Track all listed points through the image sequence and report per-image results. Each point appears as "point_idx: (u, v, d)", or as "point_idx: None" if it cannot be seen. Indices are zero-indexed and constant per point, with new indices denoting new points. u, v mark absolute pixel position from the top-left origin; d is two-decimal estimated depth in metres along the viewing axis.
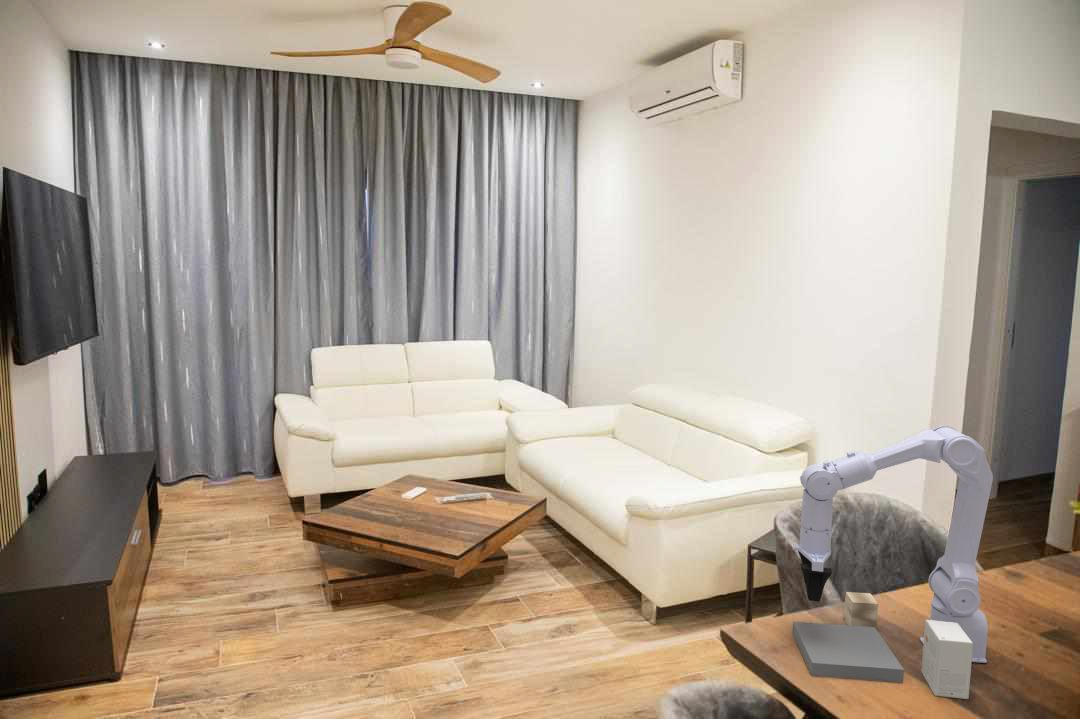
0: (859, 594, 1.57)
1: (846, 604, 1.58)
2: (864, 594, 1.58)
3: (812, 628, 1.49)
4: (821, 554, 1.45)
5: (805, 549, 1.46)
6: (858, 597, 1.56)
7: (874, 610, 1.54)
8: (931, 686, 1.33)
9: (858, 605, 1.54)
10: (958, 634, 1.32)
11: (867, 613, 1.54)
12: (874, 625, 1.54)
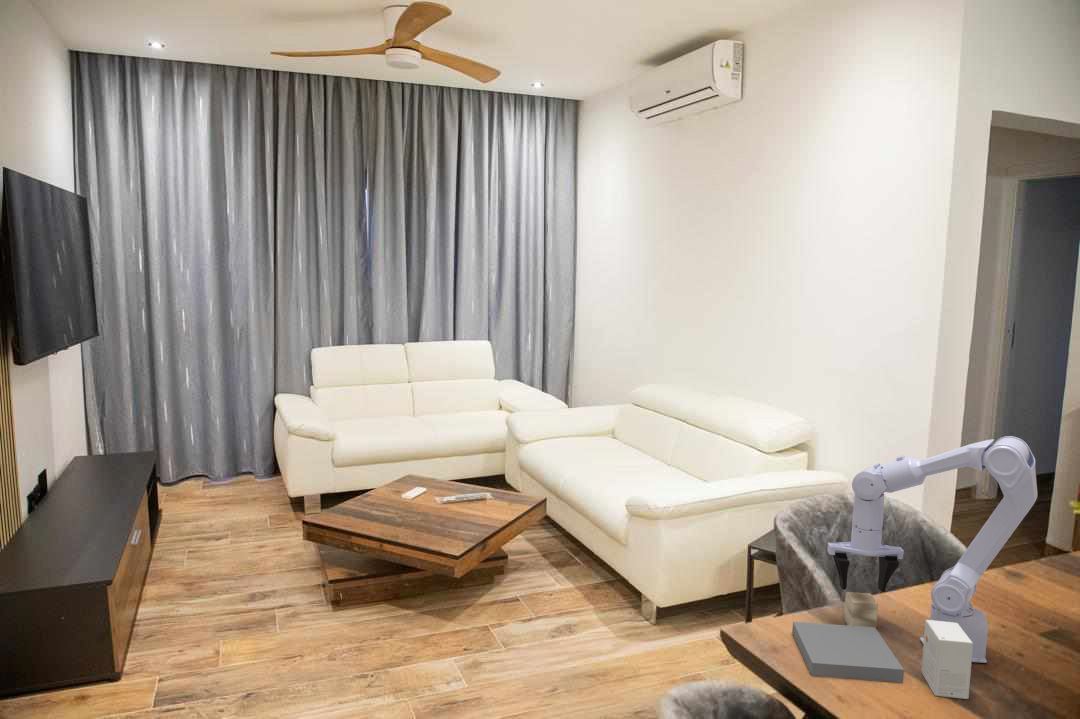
0: (859, 594, 1.57)
1: (846, 604, 1.58)
2: (864, 594, 1.58)
3: (812, 628, 1.49)
4: (852, 548, 1.54)
5: None
6: (858, 597, 1.56)
7: (874, 610, 1.54)
8: (931, 686, 1.33)
9: (859, 604, 1.54)
10: (958, 634, 1.32)
11: (867, 613, 1.54)
12: (874, 625, 1.54)
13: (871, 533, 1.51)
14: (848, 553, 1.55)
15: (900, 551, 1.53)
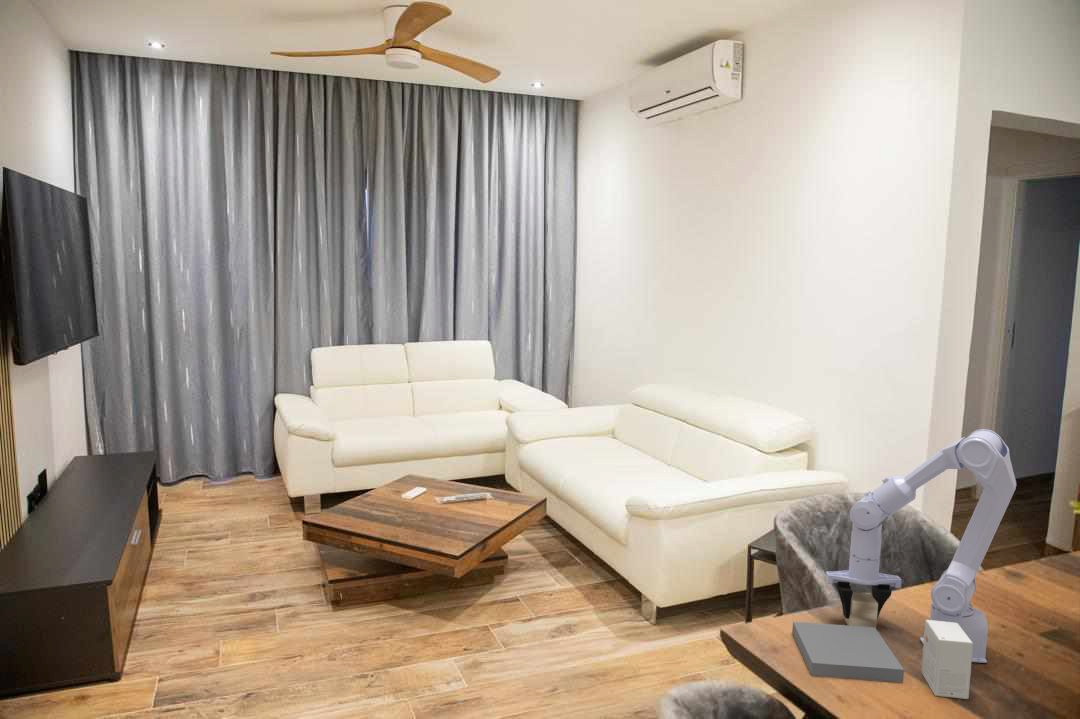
0: (859, 594, 1.57)
1: None
2: (864, 594, 1.58)
3: (812, 628, 1.49)
4: (850, 577, 1.55)
5: None
6: (858, 597, 1.56)
7: (874, 610, 1.54)
8: (931, 686, 1.33)
9: (859, 604, 1.54)
10: (958, 634, 1.32)
11: (868, 612, 1.54)
12: (874, 625, 1.54)
13: (869, 563, 1.52)
14: (846, 582, 1.56)
15: (898, 580, 1.54)
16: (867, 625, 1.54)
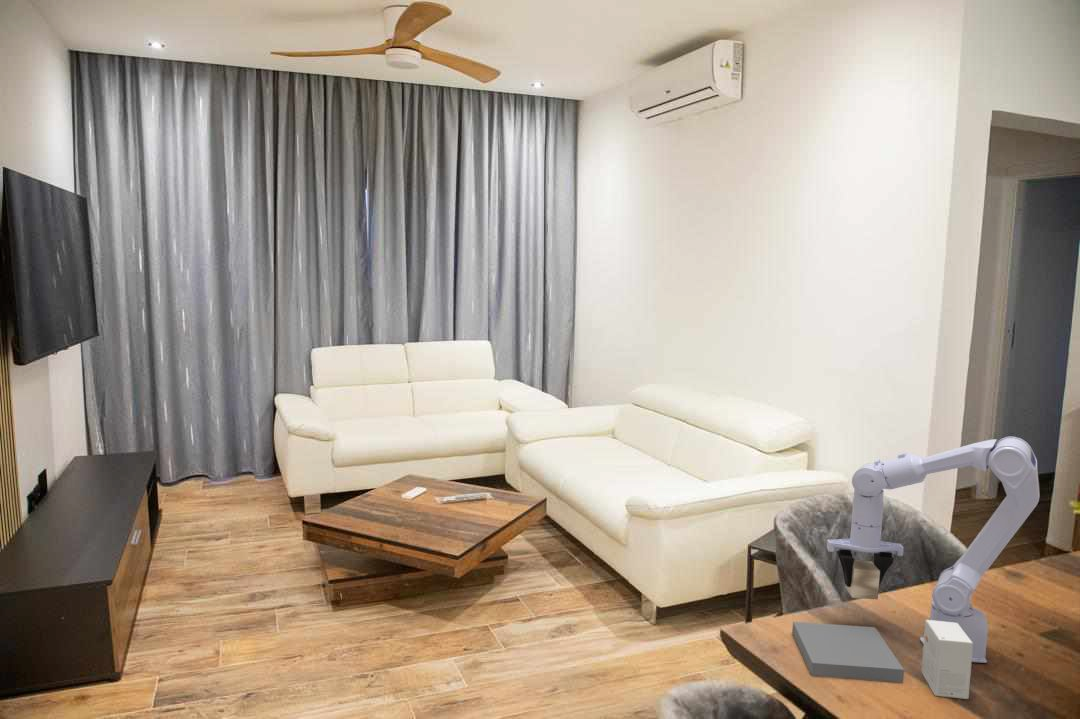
0: (861, 562, 1.56)
1: None
2: (866, 562, 1.56)
3: (812, 628, 1.49)
4: (852, 544, 1.53)
5: None
6: (860, 565, 1.54)
7: (876, 577, 1.52)
8: (931, 686, 1.33)
9: (860, 572, 1.52)
10: (958, 634, 1.32)
11: (869, 580, 1.52)
12: (876, 593, 1.52)
13: (870, 529, 1.50)
14: (847, 550, 1.54)
15: (900, 548, 1.52)
16: (869, 593, 1.52)
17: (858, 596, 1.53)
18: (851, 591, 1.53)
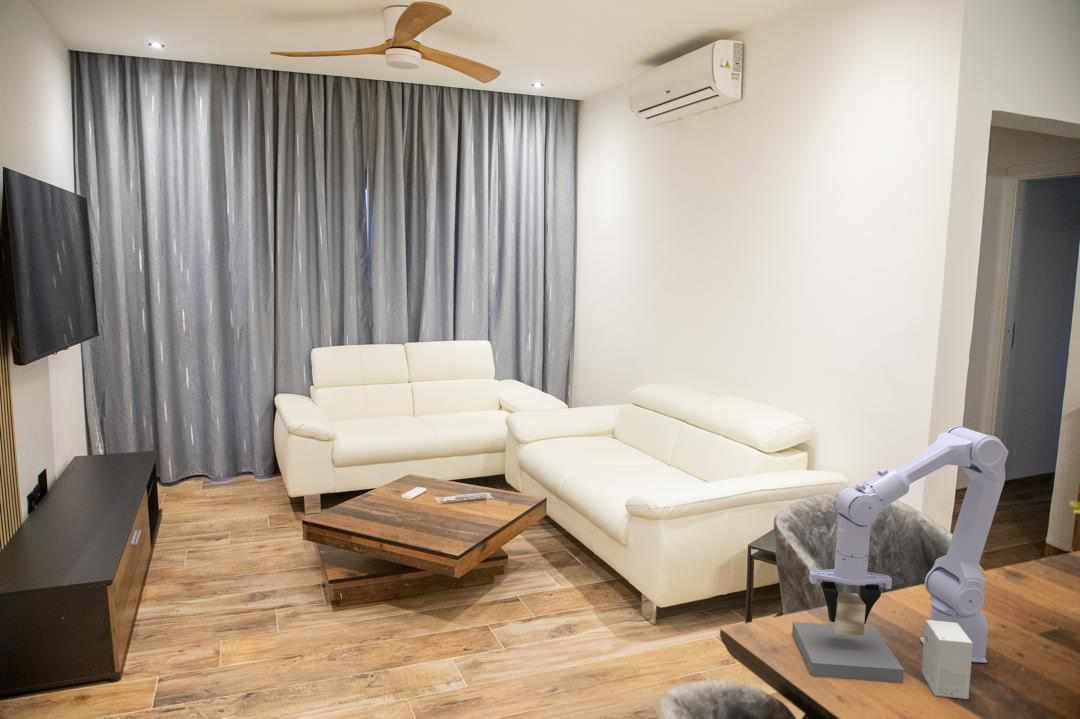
0: (845, 595, 1.44)
1: None
2: (851, 594, 1.44)
3: (812, 628, 1.49)
4: (836, 576, 1.41)
5: None
6: (844, 598, 1.43)
7: (861, 612, 1.40)
8: (931, 686, 1.33)
9: (844, 606, 1.40)
10: (958, 634, 1.32)
11: (854, 615, 1.40)
12: (861, 628, 1.40)
13: (856, 560, 1.38)
14: (831, 582, 1.42)
15: (888, 580, 1.40)
16: (854, 629, 1.41)
17: (842, 632, 1.41)
18: (835, 626, 1.42)
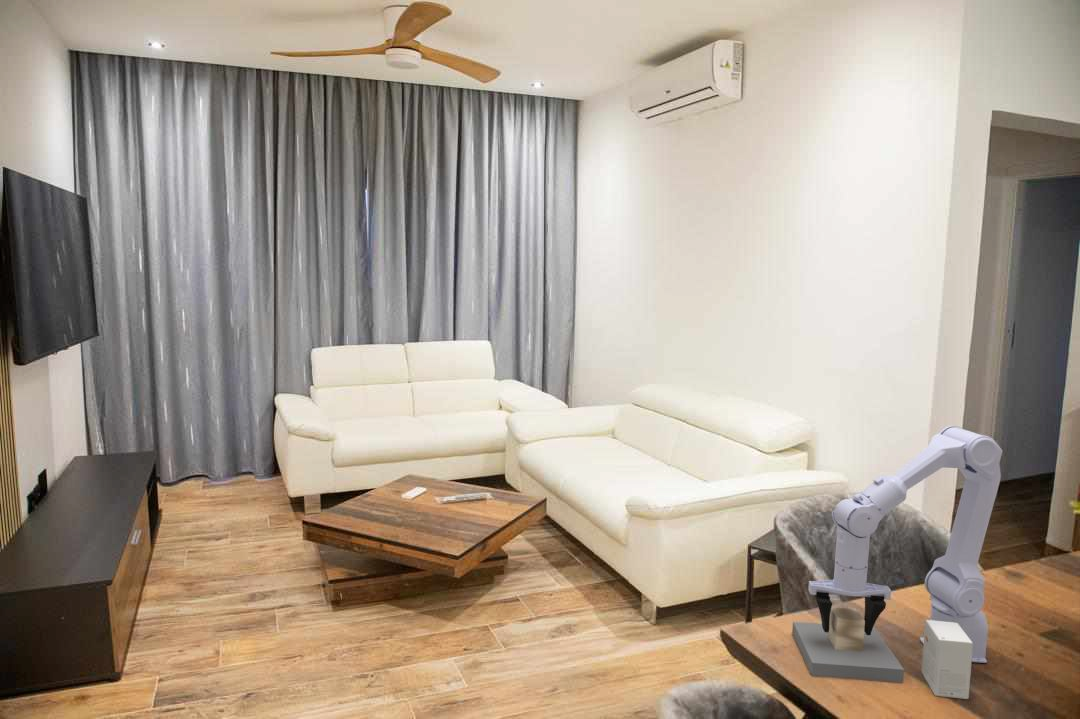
0: (844, 610, 1.44)
1: (830, 621, 1.45)
2: (850, 610, 1.45)
3: (812, 628, 1.49)
4: (835, 587, 1.41)
5: None
6: (844, 614, 1.43)
7: (861, 628, 1.40)
8: (931, 686, 1.33)
9: (844, 622, 1.41)
10: (958, 634, 1.32)
11: (853, 631, 1.41)
12: (861, 644, 1.41)
13: (855, 572, 1.39)
14: (831, 593, 1.42)
15: (887, 591, 1.40)
16: (853, 644, 1.41)
17: (841, 647, 1.41)
18: (834, 642, 1.42)
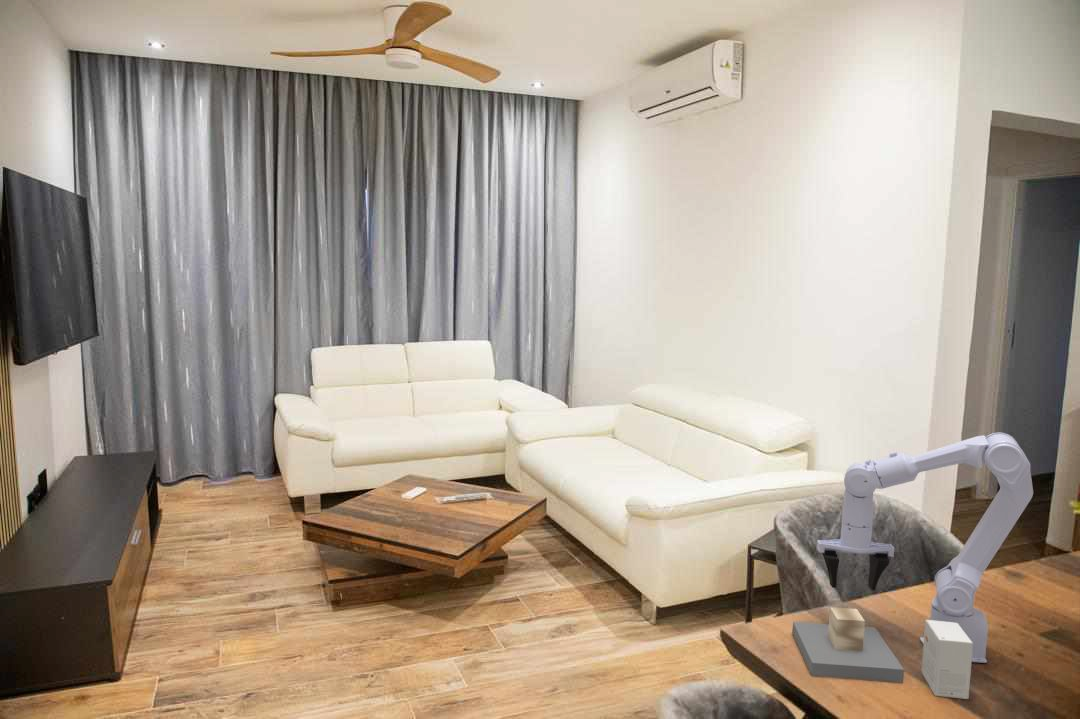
0: (844, 610, 1.44)
1: (830, 621, 1.45)
2: (850, 610, 1.45)
3: (812, 628, 1.49)
4: (842, 545, 1.51)
5: None
6: (844, 614, 1.43)
7: (861, 628, 1.40)
8: (931, 686, 1.33)
9: (844, 622, 1.41)
10: (958, 634, 1.32)
11: (853, 631, 1.41)
12: (861, 644, 1.41)
13: (861, 530, 1.48)
14: (838, 550, 1.52)
15: (891, 548, 1.50)
16: (853, 644, 1.41)
17: (841, 647, 1.41)
18: (834, 642, 1.42)
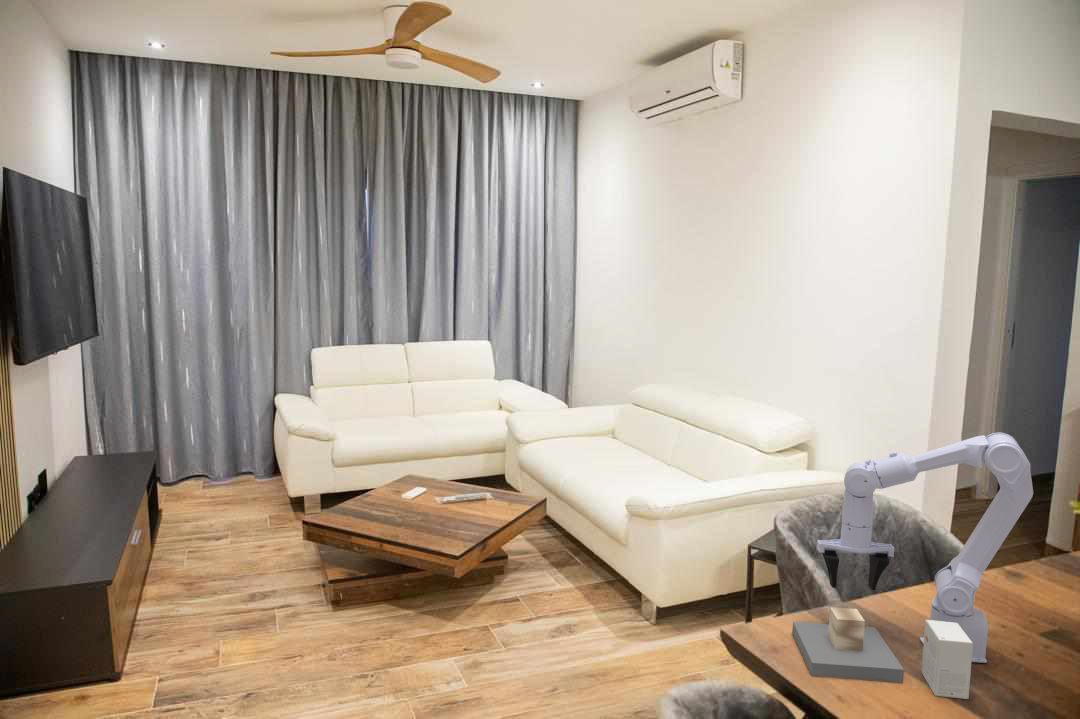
0: (844, 610, 1.44)
1: (830, 621, 1.45)
2: (850, 610, 1.45)
3: (812, 628, 1.49)
4: (842, 545, 1.51)
5: None
6: (844, 614, 1.43)
7: (861, 628, 1.40)
8: (931, 686, 1.33)
9: (844, 622, 1.41)
10: (958, 634, 1.32)
11: (853, 631, 1.41)
12: (861, 644, 1.41)
13: (861, 530, 1.49)
14: (838, 550, 1.52)
15: (891, 548, 1.50)
16: (853, 644, 1.41)
17: (841, 647, 1.41)
18: (834, 642, 1.42)
